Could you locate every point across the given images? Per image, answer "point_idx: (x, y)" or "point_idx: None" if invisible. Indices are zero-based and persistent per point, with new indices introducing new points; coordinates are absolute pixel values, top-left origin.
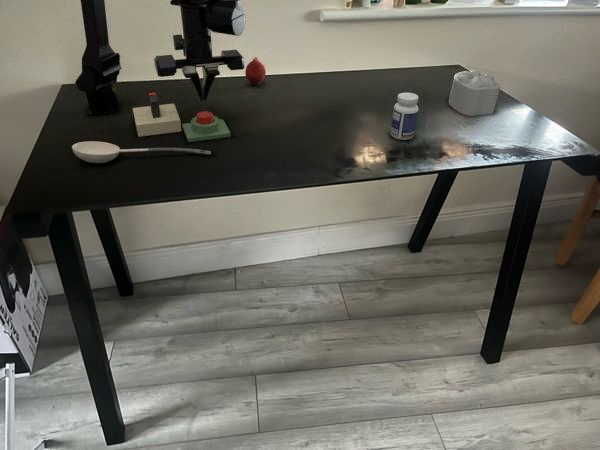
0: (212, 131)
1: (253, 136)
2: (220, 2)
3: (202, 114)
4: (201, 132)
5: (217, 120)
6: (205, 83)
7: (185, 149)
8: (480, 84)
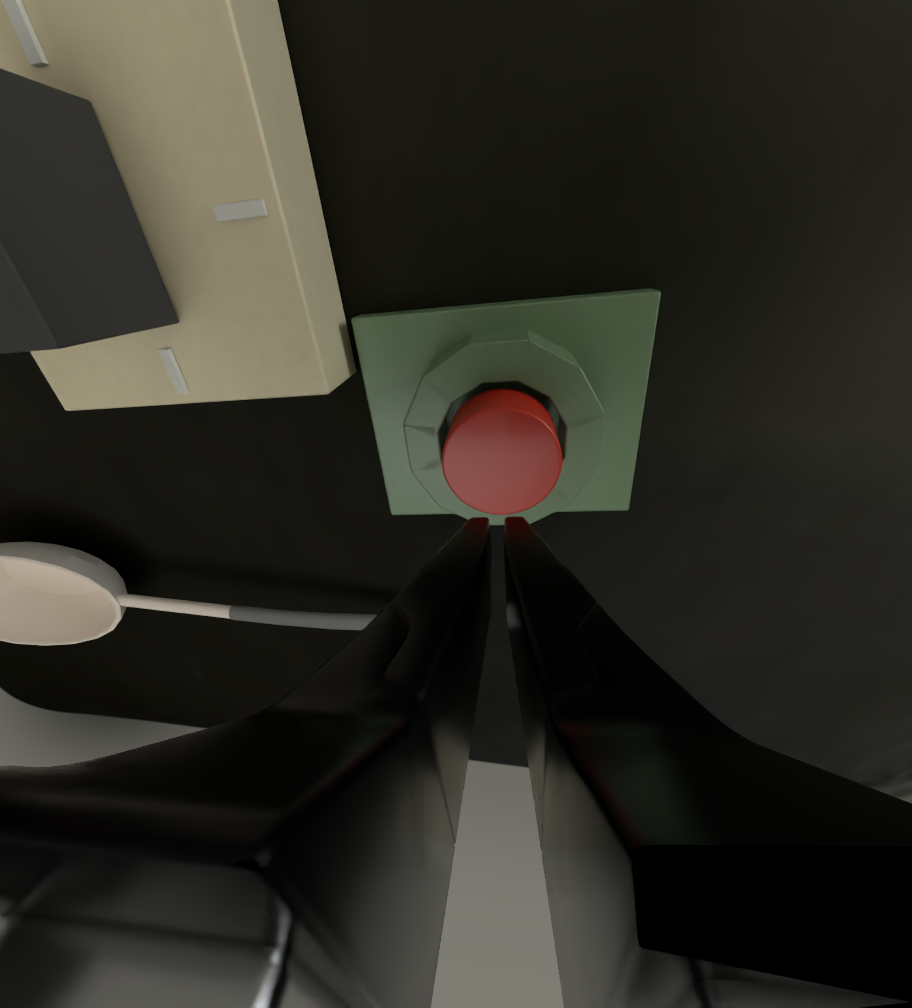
0: None
1: (745, 520)
2: None
3: (483, 464)
4: None
5: (584, 464)
6: (534, 789)
7: None
8: None
